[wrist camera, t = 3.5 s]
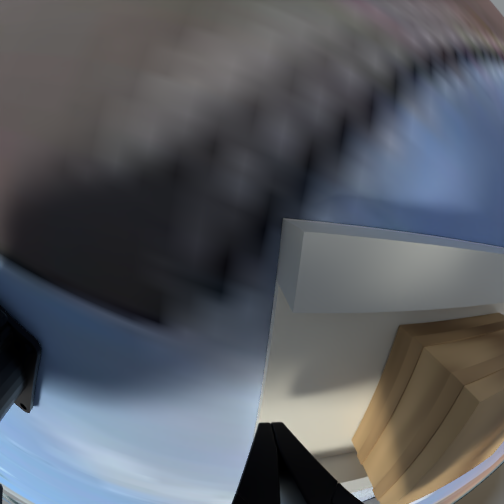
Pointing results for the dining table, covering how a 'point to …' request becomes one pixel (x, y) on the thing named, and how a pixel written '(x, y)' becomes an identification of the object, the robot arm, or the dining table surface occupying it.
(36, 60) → the dining table surface
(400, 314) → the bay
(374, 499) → the coffee cup
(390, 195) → the dining table surface
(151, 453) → the dining table surface
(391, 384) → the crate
